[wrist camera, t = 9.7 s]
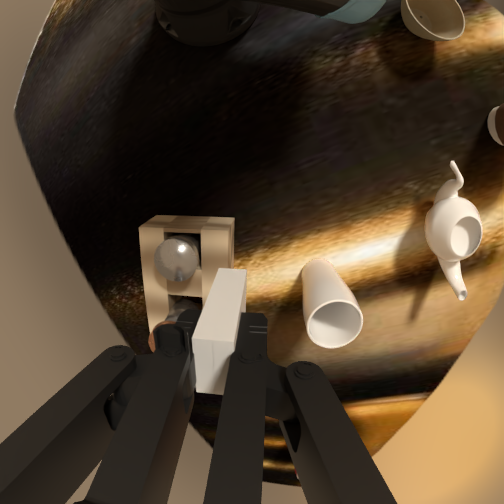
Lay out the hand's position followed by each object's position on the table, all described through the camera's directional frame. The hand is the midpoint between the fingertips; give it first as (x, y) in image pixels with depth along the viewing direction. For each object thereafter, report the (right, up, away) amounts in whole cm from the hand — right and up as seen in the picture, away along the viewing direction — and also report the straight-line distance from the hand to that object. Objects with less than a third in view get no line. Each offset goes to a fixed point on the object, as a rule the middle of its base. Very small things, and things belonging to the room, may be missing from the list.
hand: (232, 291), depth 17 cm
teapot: (+30, +7, +27) cm, 41 cm away
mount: (-8, -4, +33) cm, 34 cm away
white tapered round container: (+27, +38, +17) cm, 49 cm away
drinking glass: (+11, -1, +31) cm, 33 cm away
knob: (-8, +4, +28) cm, 29 cm away
